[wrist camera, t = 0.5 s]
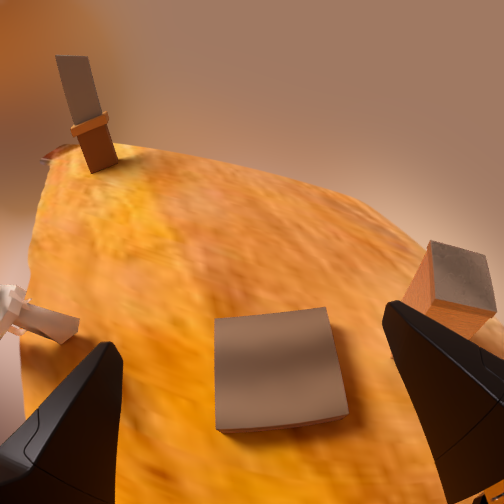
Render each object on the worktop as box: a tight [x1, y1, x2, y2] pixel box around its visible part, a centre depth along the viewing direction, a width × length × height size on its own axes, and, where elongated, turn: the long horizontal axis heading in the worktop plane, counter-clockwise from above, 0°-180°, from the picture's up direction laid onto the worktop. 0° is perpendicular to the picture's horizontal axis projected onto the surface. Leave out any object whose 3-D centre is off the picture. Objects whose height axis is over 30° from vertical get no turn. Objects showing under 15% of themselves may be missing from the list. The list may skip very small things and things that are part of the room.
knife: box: [55, 55, 118, 174], centre depth 46 cm, size 8×4×30 cm, turn 111°
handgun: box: [0, 285, 80, 344], centre depth 24 cm, size 20×4×11 cm, turn 103°
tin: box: [391, 240, 497, 359], centre depth 20 cm, size 6×6×10 cm
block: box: [215, 307, 349, 433], centre depth 22 cm, size 10×10×3 cm
